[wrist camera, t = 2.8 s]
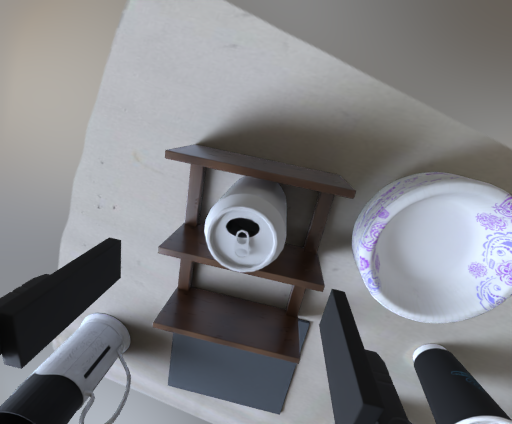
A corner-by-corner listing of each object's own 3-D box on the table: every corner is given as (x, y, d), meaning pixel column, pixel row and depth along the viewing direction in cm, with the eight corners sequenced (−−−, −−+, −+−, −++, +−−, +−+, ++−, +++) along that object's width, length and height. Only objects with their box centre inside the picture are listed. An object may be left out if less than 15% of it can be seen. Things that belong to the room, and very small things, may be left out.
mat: (309, 321, 38) (309, 323, 37) (279, 412, 44) (279, 414, 44) (178, 289, 39) (177, 291, 38) (168, 383, 45) (167, 385, 45)
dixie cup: (462, 333, 35) (535, 419, 25) (459, 376, 38) (524, 472, 27) (401, 335, 37) (445, 418, 26) (401, 377, 39) (442, 468, 29)
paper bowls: (327, 196, 32) (340, 218, 24) (462, 144, 28) (526, 151, 21) (366, 296, 35) (387, 341, 28) (489, 261, 32) (552, 302, 24)
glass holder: (76, 310, 42) (-29, 402, 28) (158, 319, 41) (90, 421, 27) (86, 351, 45) (-5, 453, 31) (163, 361, 44) (104, 473, 30)
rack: (339, 174, 31) (356, 190, 23) (296, 316, 38) (298, 364, 30) (194, 144, 32) (165, 149, 24) (178, 288, 39) (152, 327, 31)
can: (288, 174, 31) (289, 201, 20) (285, 231, 34) (283, 284, 22) (228, 171, 32) (195, 196, 21) (228, 227, 34) (199, 276, 23)
